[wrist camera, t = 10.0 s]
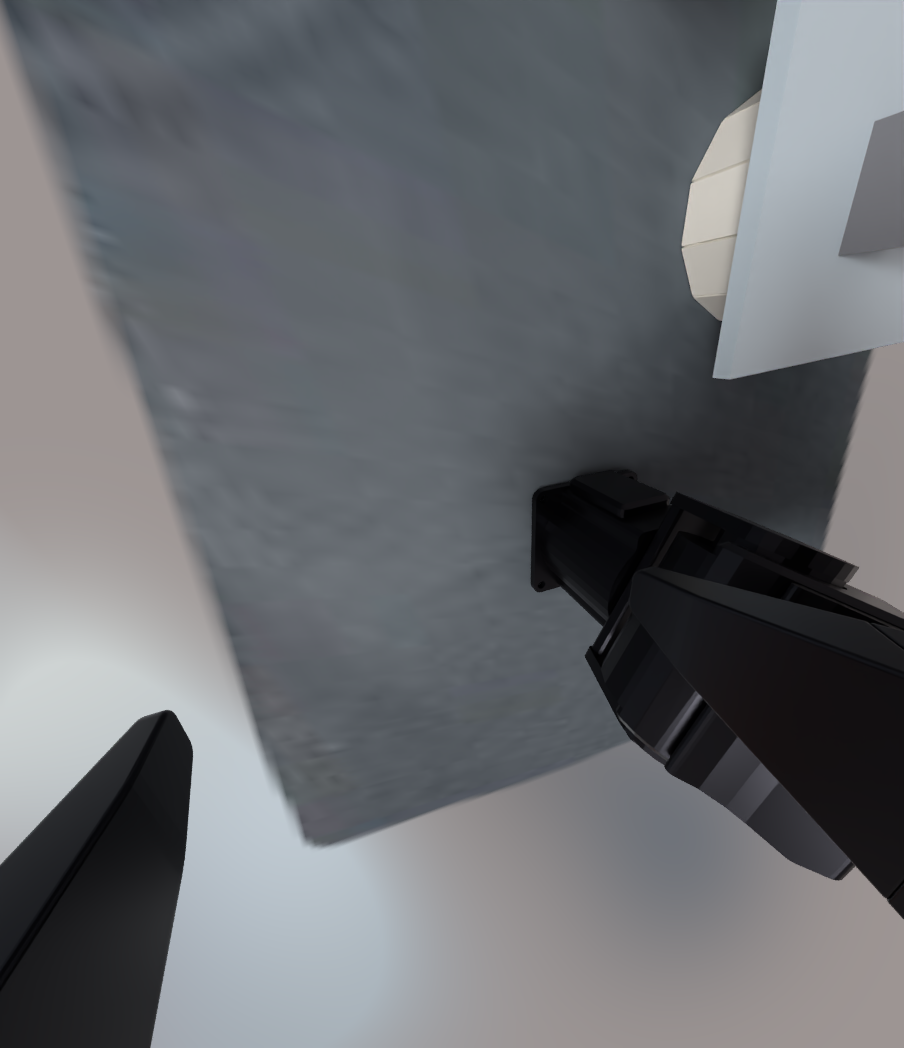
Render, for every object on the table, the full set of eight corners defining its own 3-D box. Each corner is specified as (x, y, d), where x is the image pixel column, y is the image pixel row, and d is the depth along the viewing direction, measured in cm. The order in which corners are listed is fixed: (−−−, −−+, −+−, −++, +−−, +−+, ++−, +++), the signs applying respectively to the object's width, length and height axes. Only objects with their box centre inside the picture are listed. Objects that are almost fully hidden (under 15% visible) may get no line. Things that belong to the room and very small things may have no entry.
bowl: (796, 313, 23) (885, 309, 19) (669, 326, 20) (744, 324, 17) (856, 94, 19) (982, 41, 15) (706, 78, 16) (815, 10, 13)
